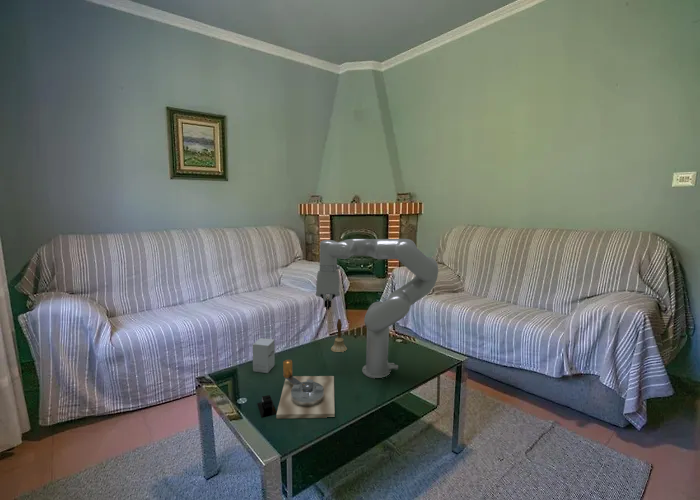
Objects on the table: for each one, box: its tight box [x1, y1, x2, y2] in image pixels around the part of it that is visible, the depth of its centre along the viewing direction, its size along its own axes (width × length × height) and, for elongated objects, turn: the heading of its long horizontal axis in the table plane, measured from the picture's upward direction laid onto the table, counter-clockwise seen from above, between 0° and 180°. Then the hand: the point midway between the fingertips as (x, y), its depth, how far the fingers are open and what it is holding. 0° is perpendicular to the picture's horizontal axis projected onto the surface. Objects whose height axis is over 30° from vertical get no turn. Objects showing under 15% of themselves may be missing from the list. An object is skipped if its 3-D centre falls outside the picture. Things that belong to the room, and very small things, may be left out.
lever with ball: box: [282, 359, 324, 407], centre depth 131 cm, size 22×12×9 cm, turn 41°
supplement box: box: [252, 337, 276, 374], centre depth 152 cm, size 7×7×13 cm
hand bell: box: [330, 318, 348, 353], centre depth 173 cm, size 8×8×16 cm
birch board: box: [275, 375, 336, 419], centre depth 131 cm, size 20×26×2 cm
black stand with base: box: [256, 394, 277, 419], centre depth 123 cm, size 12×7×5 cm, turn 23°
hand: (327, 308), depth 152 cm, fingers closed
